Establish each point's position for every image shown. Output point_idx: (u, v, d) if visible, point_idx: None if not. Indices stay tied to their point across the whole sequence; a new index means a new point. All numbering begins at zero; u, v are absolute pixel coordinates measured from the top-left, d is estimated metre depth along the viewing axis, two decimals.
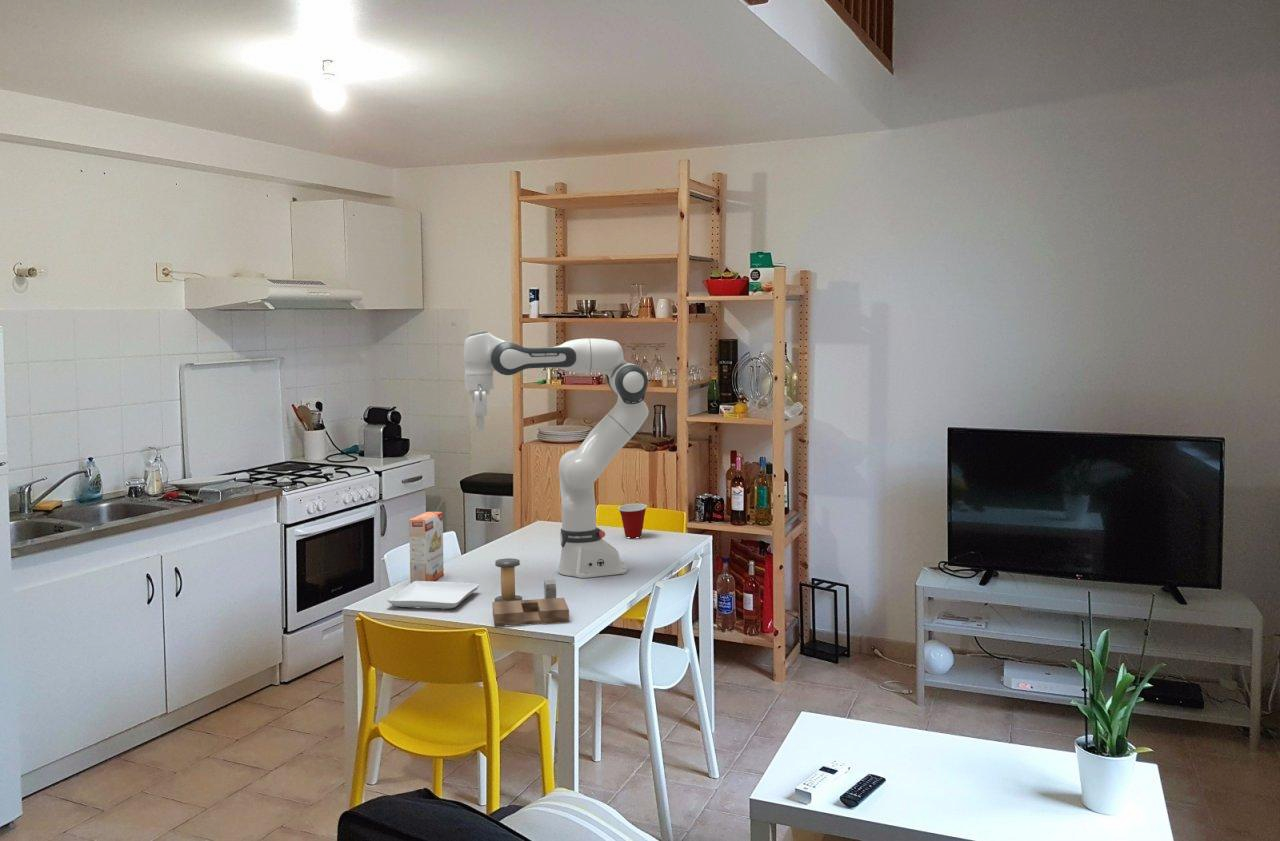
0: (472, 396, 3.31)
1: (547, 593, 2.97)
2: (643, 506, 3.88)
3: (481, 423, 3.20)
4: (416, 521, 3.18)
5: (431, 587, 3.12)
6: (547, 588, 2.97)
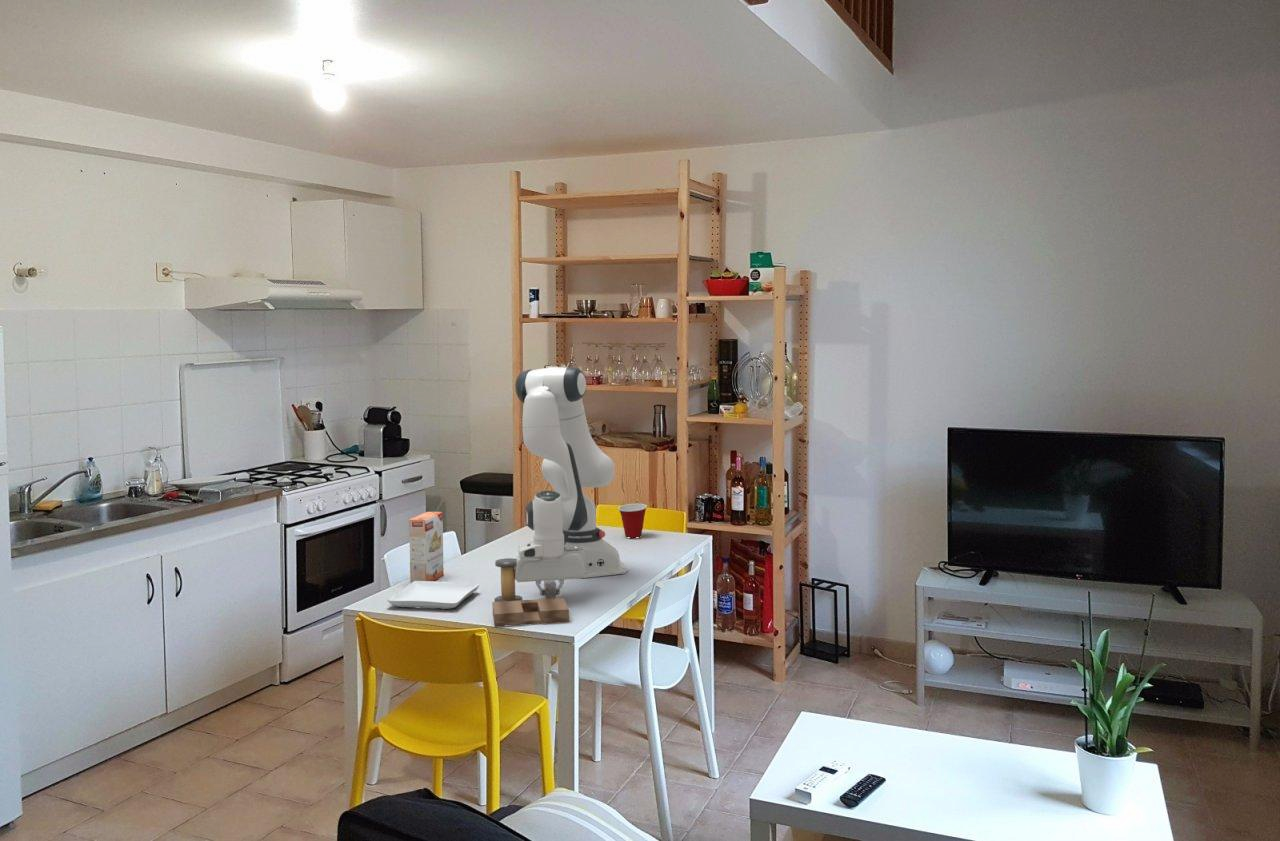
0: (523, 565, 2.96)
1: (547, 593, 2.97)
2: (643, 506, 3.88)
3: None
4: (416, 521, 3.18)
5: (431, 587, 3.12)
6: (547, 588, 2.97)
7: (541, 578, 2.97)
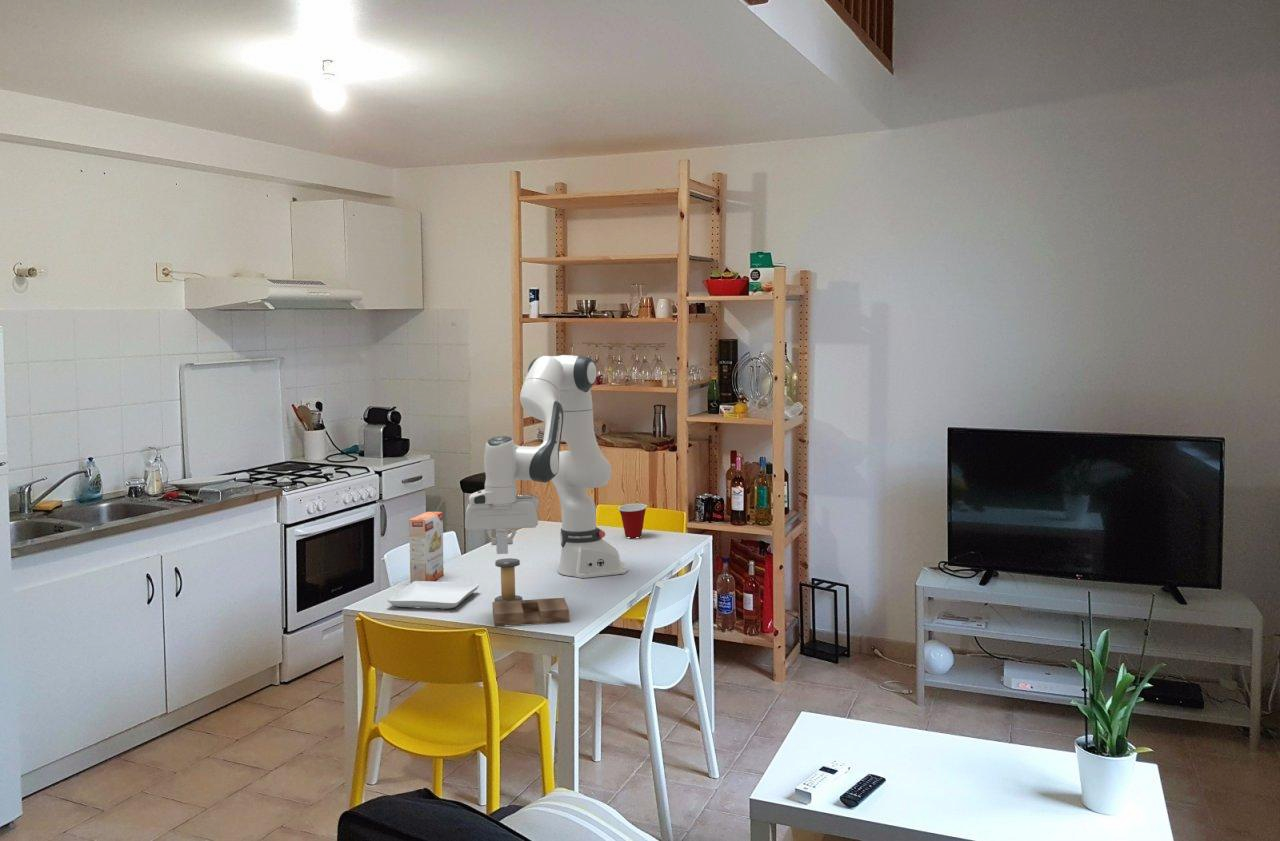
0: (473, 513, 2.84)
1: (498, 542, 2.86)
2: (643, 506, 3.88)
3: None
4: (416, 521, 3.18)
5: (430, 587, 3.12)
6: (498, 537, 2.85)
7: (492, 526, 2.86)
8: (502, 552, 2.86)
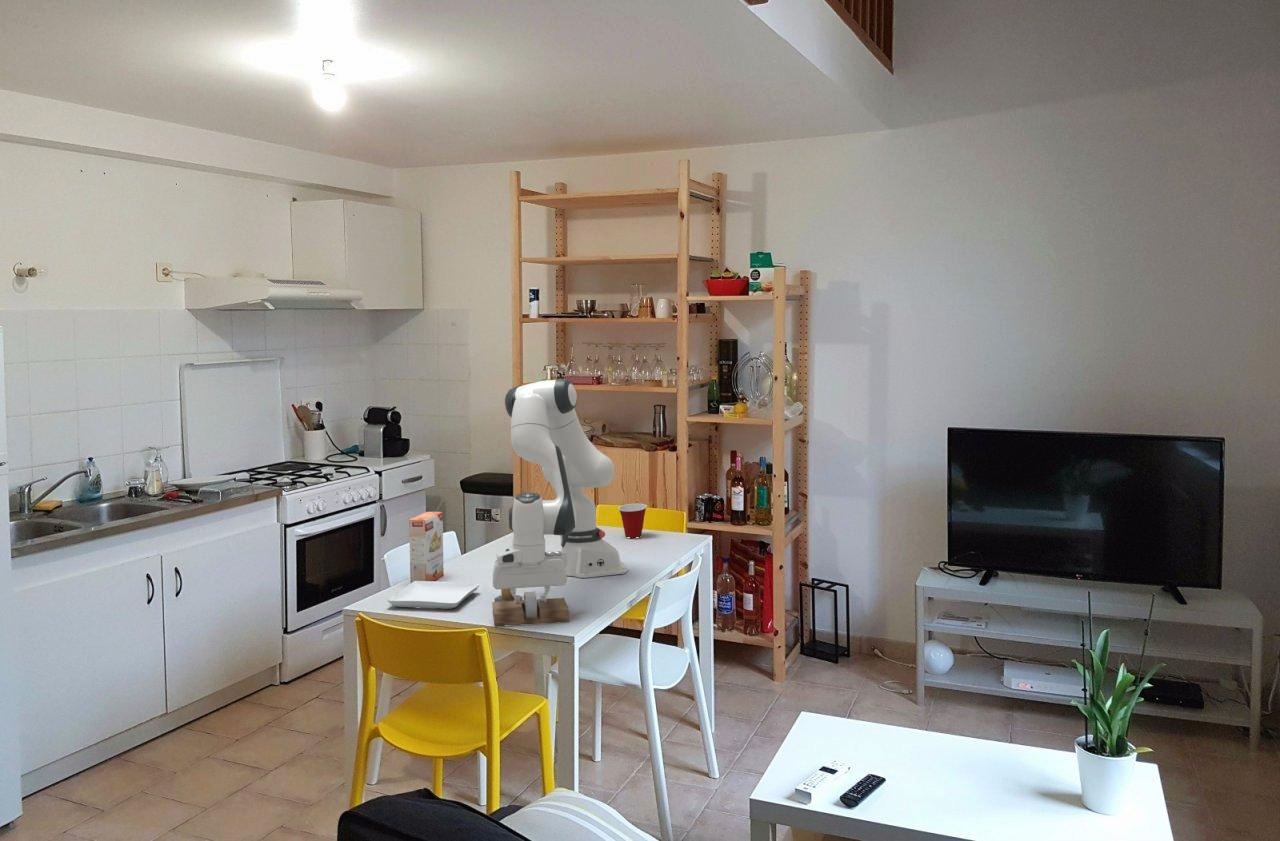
0: (502, 572, 2.79)
1: (527, 606, 2.80)
2: (643, 506, 3.88)
3: None
4: (416, 521, 3.18)
5: (430, 587, 3.12)
6: (527, 601, 2.80)
7: (520, 585, 2.80)
8: (531, 616, 2.80)
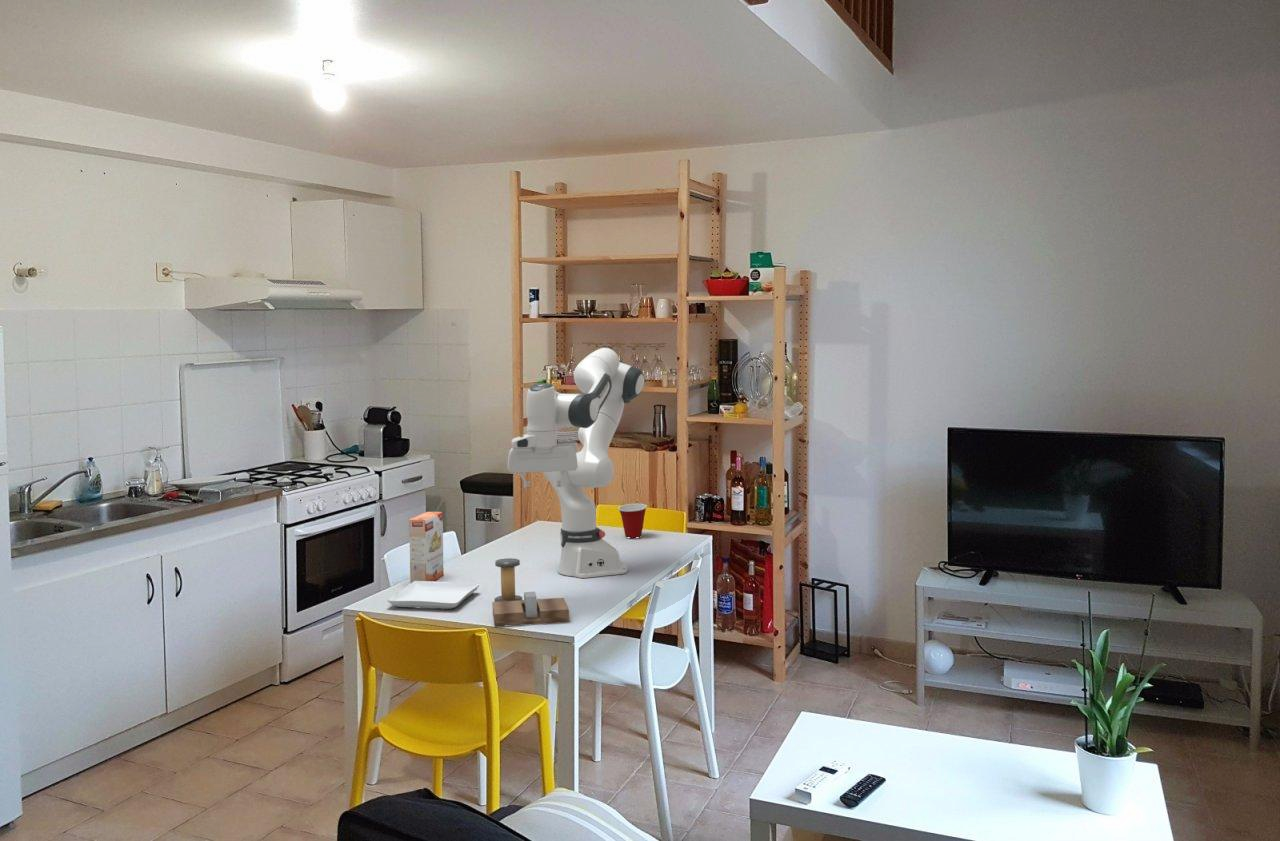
0: (516, 456, 2.96)
1: (527, 606, 2.80)
2: (643, 506, 3.88)
3: None
4: (416, 521, 3.18)
5: (430, 587, 3.12)
6: (527, 601, 2.80)
7: (534, 469, 2.98)
8: (531, 616, 2.80)
